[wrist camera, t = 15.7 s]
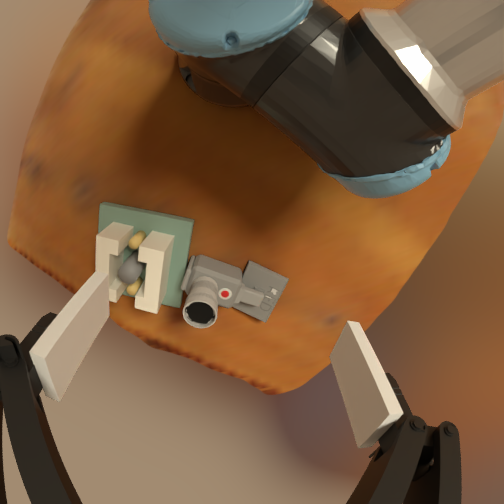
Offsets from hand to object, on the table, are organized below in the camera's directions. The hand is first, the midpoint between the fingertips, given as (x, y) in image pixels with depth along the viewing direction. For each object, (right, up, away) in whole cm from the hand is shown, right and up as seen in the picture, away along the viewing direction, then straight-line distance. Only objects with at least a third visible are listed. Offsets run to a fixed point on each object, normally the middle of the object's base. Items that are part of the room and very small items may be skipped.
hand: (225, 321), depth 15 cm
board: (-16, +3, +29) cm, 34 cm away
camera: (-2, -1, +32) cm, 32 cm away
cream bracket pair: (-16, +3, +28) cm, 32 cm away
